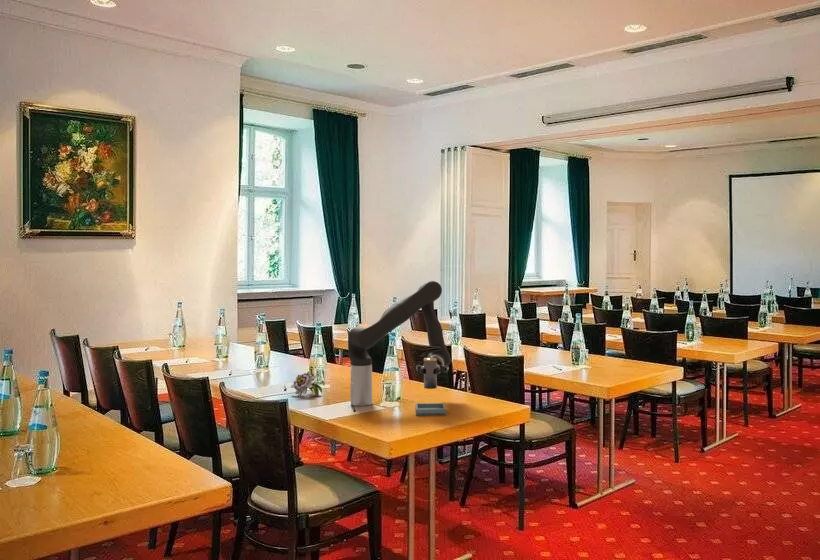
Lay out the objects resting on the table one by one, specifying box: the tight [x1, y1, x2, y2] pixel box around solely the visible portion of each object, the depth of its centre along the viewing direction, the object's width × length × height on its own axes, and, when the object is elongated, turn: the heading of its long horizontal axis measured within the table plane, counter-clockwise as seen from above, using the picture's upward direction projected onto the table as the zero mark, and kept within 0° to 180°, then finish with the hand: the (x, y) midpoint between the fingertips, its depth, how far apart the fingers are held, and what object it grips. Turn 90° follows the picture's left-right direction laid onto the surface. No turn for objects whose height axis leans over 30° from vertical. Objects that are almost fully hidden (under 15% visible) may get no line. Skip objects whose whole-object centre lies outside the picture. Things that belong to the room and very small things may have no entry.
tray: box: [414, 402, 447, 417], centre depth 296 cm, size 12×12×2 cm
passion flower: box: [290, 370, 325, 398], centre depth 335 cm, size 13×12×14 cm
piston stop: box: [423, 357, 438, 390], centre depth 295 cm, size 5×5×12 cm
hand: (429, 371), depth 293 cm, fingers closed on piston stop, 5 cm apart
